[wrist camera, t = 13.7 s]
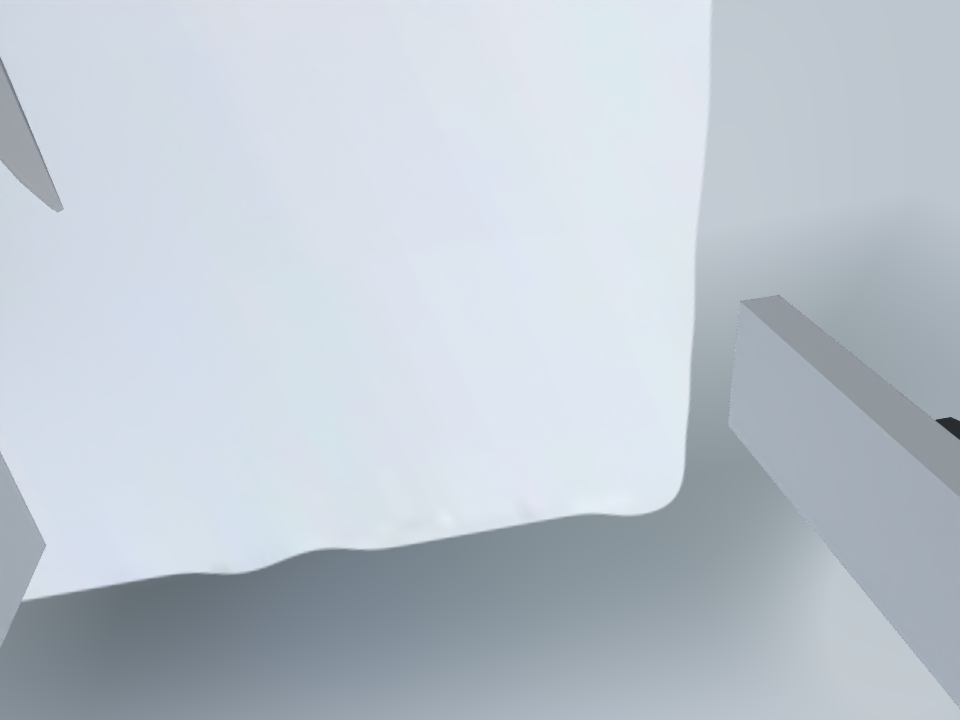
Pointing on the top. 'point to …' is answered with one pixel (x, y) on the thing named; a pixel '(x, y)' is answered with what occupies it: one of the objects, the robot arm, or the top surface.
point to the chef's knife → (22, 147)
